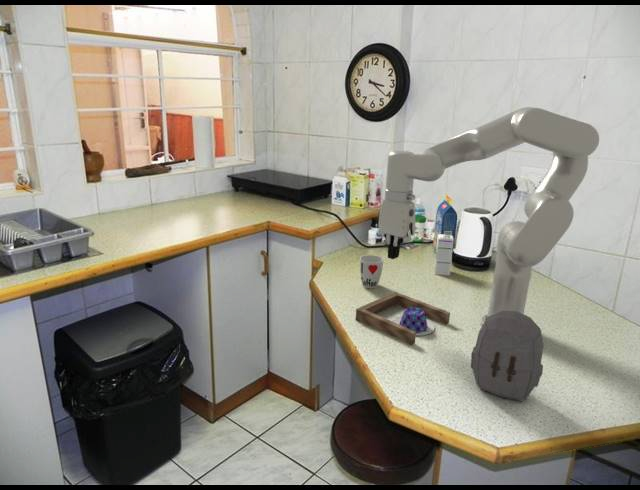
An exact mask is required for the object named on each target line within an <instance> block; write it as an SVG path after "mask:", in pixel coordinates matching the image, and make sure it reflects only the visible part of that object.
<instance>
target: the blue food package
mask: <svg viewBox="0 0 640 490" xmlns="http://www.w3.org/2000/svg"><path fill="white" fill-rule="evenodd" d="M434 222H435V223H434V232H433V233H434V234H433V240H432V251H433V250H434V251H433V252H434V254H435V255H436V248H437V239H438V234H446V235H452V236H453V240H454V241H453V249H454V248H455V242H456V241H455V240H456V234H457V225H458V213H457V211H456V210H455V208H454V207H453V198H451V197H450V195H448V194H447V193H445V198H444V199H443V201H442V202H441V203H440V204H439V205H438V206H437V208H436V214H435V221H434ZM454 250H455V249H454ZM454 250H452V253H453V254H454Z"/></svg>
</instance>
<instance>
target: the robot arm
mask: <svg viewBox="0 0 640 490" xmlns="http://www.w3.org/2000/svg"><path fill="white" fill-rule="evenodd" d="M525 143H527V144H529V145H532V146H534V147H536V148H539V149H542V150H546V151H548V152H551V153H552V162H551V165H550V167H549V169H548V170H547V172H546V173H545V174H544V177H543V178H542V179H541V180H540V182H539V183H538V184H537V186H536V187H535V189H534V190H533V191H532V193H531V194H530V195H529V197H528V198H527V199H526V200H525V203H524V207H523V211H524V213H525V216H526V217H527V220H526V221H525V222H523V221H518V220H517V221H516V220H515V221H511V222H508V223H507V224H505V225H504V226H503V227H502V228H501V229H500V231H499V233H498V235H497V242H496V260H495V267H494V274H493V278H492V287H491V292H490V293H491V294H490V300H489V306H488V311H487V312H488V313H487V314H484V315H483V316H482V317H481V320H480V321H481V322H480V323H481V326H483V324H484V322H485V319H486V318H487V317H489V316H491V315H494V314H496V313H498V312H500V311H517V312H519V313H522V314H524V315H526V316H528V315H527V314H525V308H526V305H527V303H526V302H527V296H528V293H529V286H530V281H531V277H532V272H533V271H532V270H533V267H535V266H537V265H538V264H540V263H541V262H542V261H544V260H545V259H546V257H547V256H548V255H549V254H550V253H551V251H552V250H553V248H554V247H555V246H556V245H557V244H558V242H559V241H560V240H561V238H563V236H564V235H565V233H566V232H567V231H568V229H569V228H570V226H571V224H572V222H573V219H574V212H575V211H574V208H573V205H572V203H571V202H570V199H571V198H572V197H573V195H574V194H575V193H576V191H577V190H578V188H579V186H581V184H582V183H583V181H584V179H585V176H586V175H587V174H586V173H587V172H588V166H589V156H591V155H593V153H594V152H595V151H596V150H597V148H598V146H599V144H600V134H599V132H598V130H597V129H596V128H595V127H594V126H593V125H592V124H590V123H587V122H583V121H580V120H577V119H574V118H570V117H567V116H565V115H564V116H563V115H560V114H557V113H554V112H551V111H549V110H547V109H543V108H539V107H530V106H528V107H527V106H526V107H521V108H519V109H516V110H514V111H511V112H509V113H507V114H504V115H502V116H500V117H498V118H497V119H494V120H492V121H489V122H487V123H484V124H482V125H480V126H478V127H475V128H473V129H470V130H468V131H466V132H464V133H462V134H459V135H457V136H453V137H451V138H449V139H447V140H444V141H442V142H441V141H440V142H439V143H437V144H435V145H432V146H430V147H428V148H426V149H424V150H422V151H420V152H419V153H418V154H415V153H414V152H411V151H408V150H407V151H406V150H393V151H390V152H389V153H388V156H387V165H386V166H387V167H386V178H385V181H386V182H385V193H384V198H383V199H382V203H381V206H380V210H379V216H378V230H379V231H378V234H379V235H381V237H383V238H385V242H386V244H387V245H388V246H387V258H388V259H390V260H394V259H397V258H399V256H400V251H401V250H400V249H401V248H400V247H401V246H402V245H403V243H411V242H412V237H413V236H414V235H415V233H416V232H415V231H416V206H415V202H413V201H414V200H415V199H416V195H415V194H414V193H413V188H414V182H415V181H414V180H418V181H422V182H429V183H430V182H435V181H437V180H439V179H441V177H442V176H443V175H444V174H445V170H446V169H448V168H451V167H453V166H456V165H459V164H462V163H466V162H470V161H473V162H474V161H482V160H486V159H490V158H491V157H494V156H496V155H499V154H501V153H503V152H505V151H508V150H510V149H512V148H515V147H518V146H520V145H522V144H525Z"/></svg>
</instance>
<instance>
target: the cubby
mask: <svg viewBox="0 0 640 490" xmlns="http://www.w3.org/2000/svg"><path fill="white" fill-rule="evenodd" d="M396 306H398V307H401V308H404V310H405V309H407V308H410V307H411V308H413V307H416V308H420V309H422V310H423V311H424V312H425V314H426V318H427V319H430V320H433V321H434V322H438V323H441V324H443V325H449V324H450V318H451V312H450V311H447V310H444V309H442V308H440V307H436V306H434V305H431V304H429V303H426V302H423V301H421V300H418V299H415V298H413V297H410V296H407V295H406V294H402V293H400V292H396V291H394V292H392V293H390V294H387V295H384V296H383V297H381V298H378V299H376V300H374V301H372V302H369V303H367V304H364V305H361V306H360V307H358V308H356V310H355V311H356V312H355V321H358V322H360V323H362V324H364V325H367V326H368V327H371V328H373V329H376V330H377V331H379V332H382V333H384V334H386V335H389V336H390V337H393V338H395V339H397V340H399V341H401V342H403V343H406V344H408V345H410V346H413V345H415V344H416V336H417V335H416V332H415V331H413V330H411V329H408V328H406V327H404V326H401V325H399V324H397V323H394V322H393V320H389V319H387V318H385V317H383V316H381V315H378V314H381V313H383V312H385V311H387V310H390V309H391V308H393V307H396Z"/></svg>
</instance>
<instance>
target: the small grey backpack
mask: <svg viewBox="0 0 640 490" xmlns="http://www.w3.org/2000/svg"><path fill="white" fill-rule="evenodd" d="M526 315H527V314H525V313H524V314H522V313H519V312H517V311H500V312H498V313H496V314H494V315H491V316H489V317H487V318H486V319H485V322H484V324H483V325H481V328H480V329H479V331H478V334H477V339H476V343H475V346H473V348H472V350H471V354H470V356H471V357H470V368H471V369H472V373H473V376H474V379H475V384H476V385H477V386H478V387H479V388H481V389H482V390H483V391H486V392H489V393H491V394H493V395H496V396H498V397H502V398H507V399H510V400H516V401H517V400H518V401H524V400H527V398H528V397H529V396H530V395H531V393H532V391H533V390H534V389H535V388H536V387H538V386H539V383H540V380H541V377H542V376H543V372H544V371H543V370H544V365H543V364H542V359H543V352H544V351H543V350H544V346H545V345H544V341H543V337H542V336H543V335H542V329H541V327H540V326H539V325H538V324H537V323H536V322H535V321H534V320H533V319H532V318H531V316H528V315H527V316H526Z"/></svg>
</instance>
